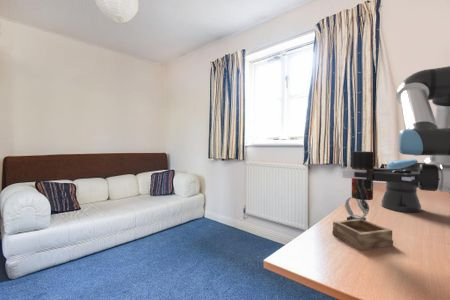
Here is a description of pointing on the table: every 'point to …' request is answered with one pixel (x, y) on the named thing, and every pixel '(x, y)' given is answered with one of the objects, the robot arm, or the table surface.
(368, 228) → the crate
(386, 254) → the table surface
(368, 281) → the table surface
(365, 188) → the deodorant
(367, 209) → the watch
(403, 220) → the table surface
